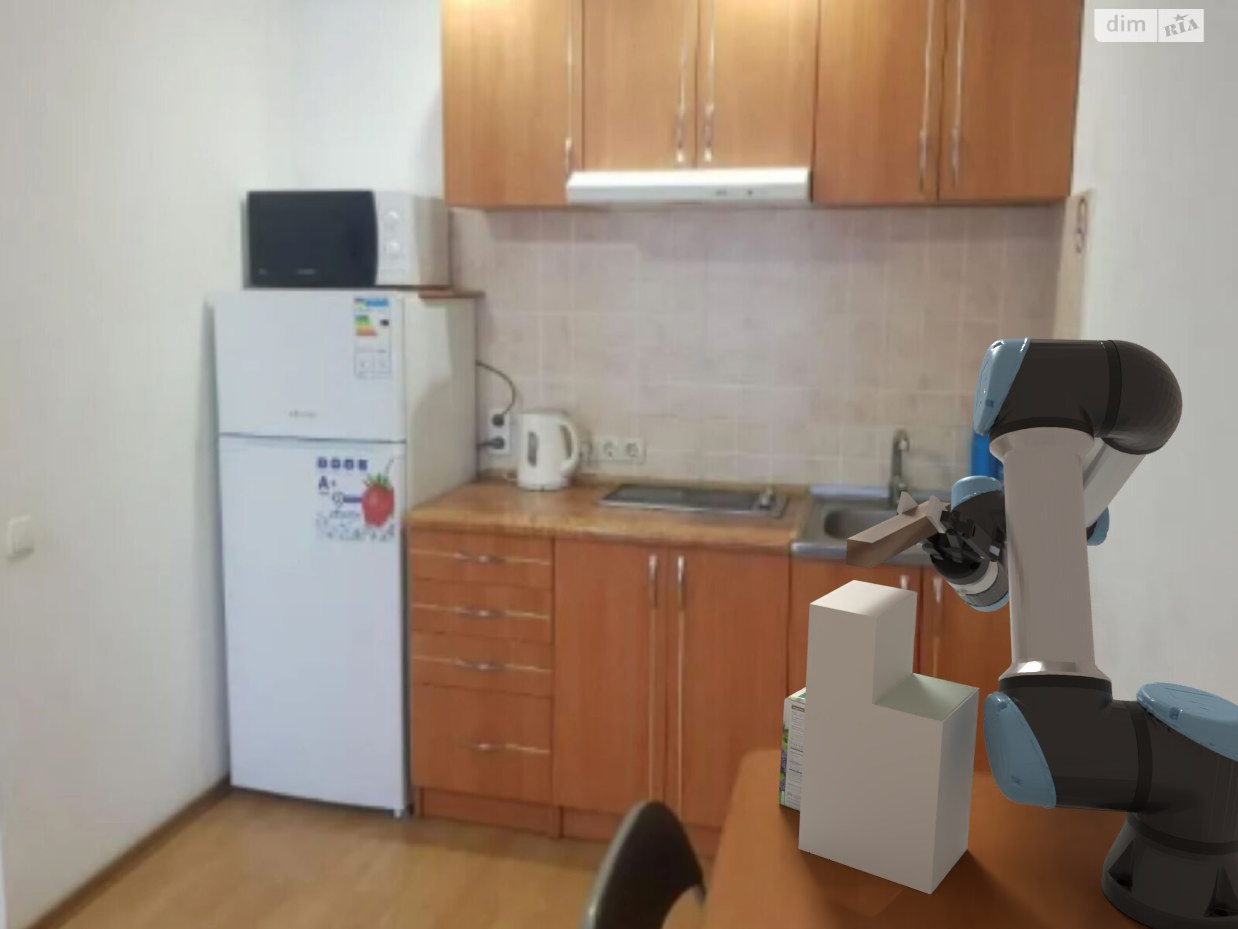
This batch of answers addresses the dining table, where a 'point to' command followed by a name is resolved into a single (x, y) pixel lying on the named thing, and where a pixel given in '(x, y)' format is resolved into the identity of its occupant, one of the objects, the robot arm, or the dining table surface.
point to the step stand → (882, 743)
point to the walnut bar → (890, 537)
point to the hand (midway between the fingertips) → (916, 504)
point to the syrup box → (792, 750)
